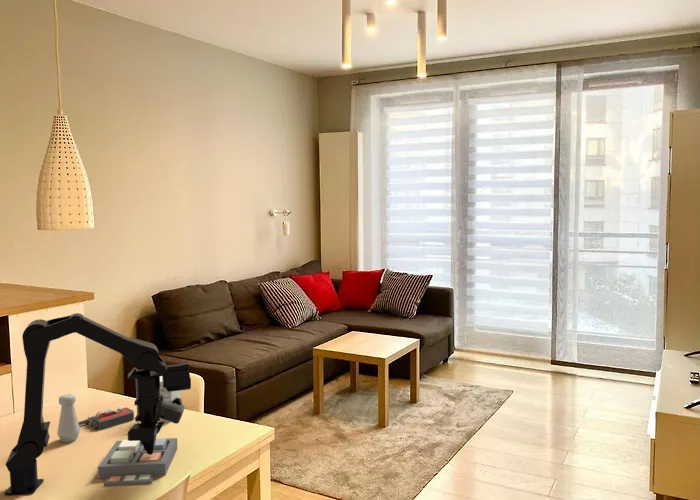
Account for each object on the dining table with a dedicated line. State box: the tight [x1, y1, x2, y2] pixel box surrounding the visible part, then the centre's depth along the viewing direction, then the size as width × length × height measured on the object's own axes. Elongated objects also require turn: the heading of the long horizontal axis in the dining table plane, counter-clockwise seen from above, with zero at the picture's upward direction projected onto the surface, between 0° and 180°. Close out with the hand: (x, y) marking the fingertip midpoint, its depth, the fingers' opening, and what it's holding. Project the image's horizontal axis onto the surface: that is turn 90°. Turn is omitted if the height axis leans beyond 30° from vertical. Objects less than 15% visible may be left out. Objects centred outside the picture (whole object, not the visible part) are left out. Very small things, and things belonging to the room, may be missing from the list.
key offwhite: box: [118, 439, 140, 451], centre depth 158 cm, size 4×4×2 cm
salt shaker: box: [56, 393, 81, 444], centre depth 170 cm, size 6×6×13 cm
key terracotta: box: [139, 452, 161, 462], centre depth 152 cm, size 4×4×2 cm
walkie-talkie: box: [78, 406, 135, 431], centre depth 182 cm, size 9×4×20 cm
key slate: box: [154, 437, 167, 450], centre depth 159 cm, size 4×4×2 cm
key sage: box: [110, 450, 133, 464], centre depth 151 cm, size 4×4×2 cm
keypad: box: [97, 437, 178, 487], centre depth 153 cm, size 20×16×3 cm
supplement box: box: [159, 376, 182, 423], centre depth 188 cm, size 7×7×13 cm
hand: (150, 453), depth 152 cm, fingers closed
